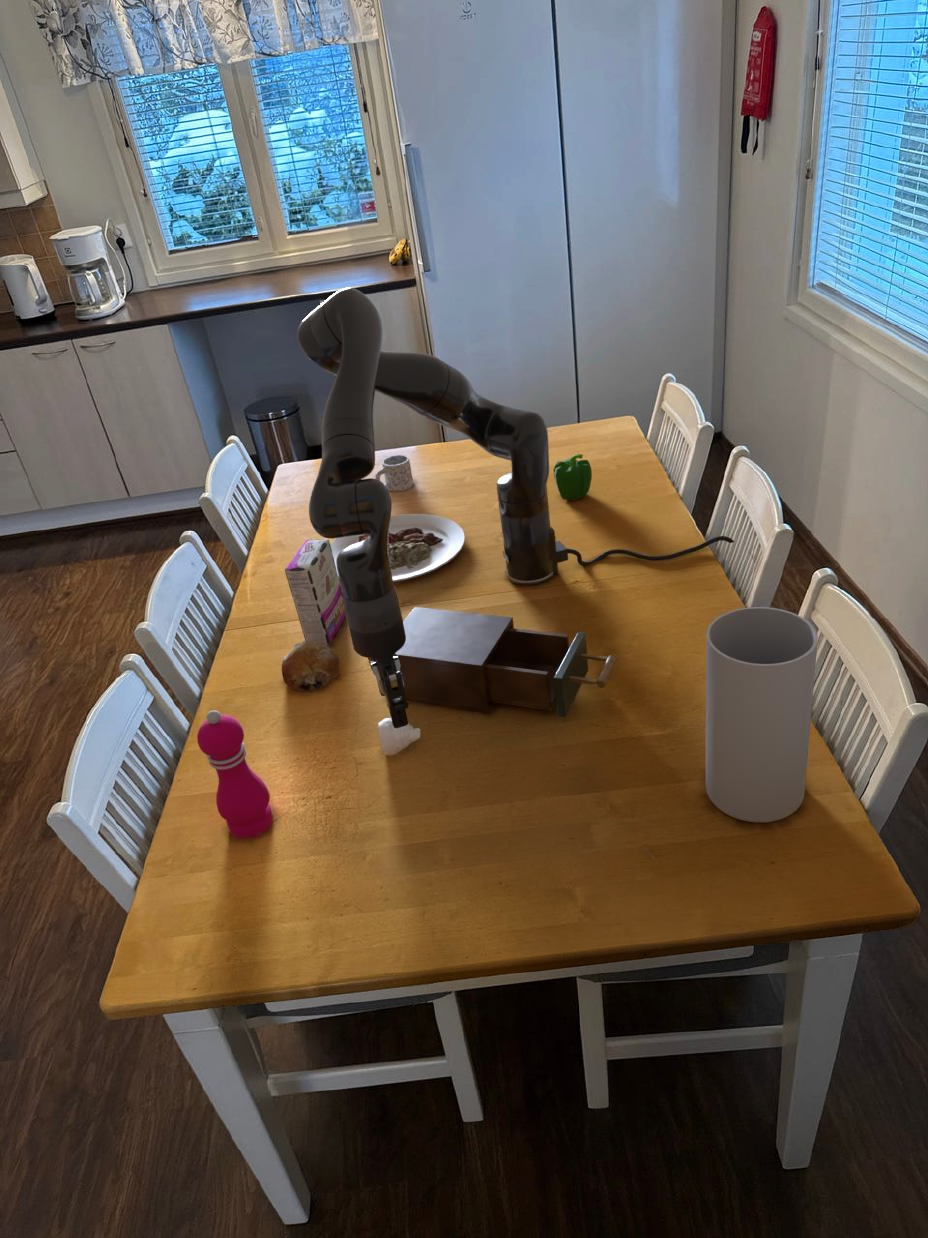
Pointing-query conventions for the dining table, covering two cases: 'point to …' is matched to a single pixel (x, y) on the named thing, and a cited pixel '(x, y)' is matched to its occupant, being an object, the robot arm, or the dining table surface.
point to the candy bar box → (316, 591)
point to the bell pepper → (573, 477)
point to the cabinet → (449, 657)
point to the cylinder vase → (758, 711)
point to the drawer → (541, 669)
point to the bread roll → (310, 666)
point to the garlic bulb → (396, 736)
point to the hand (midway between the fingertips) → (394, 709)
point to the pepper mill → (235, 777)
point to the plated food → (414, 544)
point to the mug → (396, 473)
